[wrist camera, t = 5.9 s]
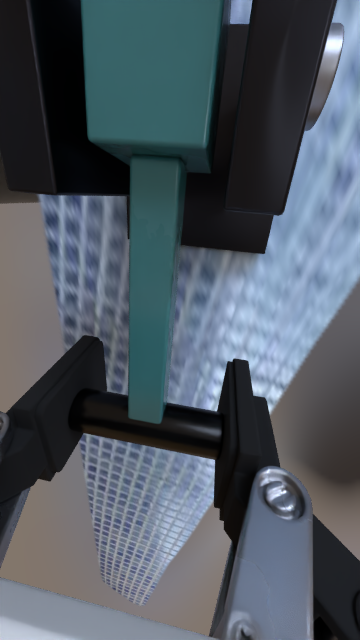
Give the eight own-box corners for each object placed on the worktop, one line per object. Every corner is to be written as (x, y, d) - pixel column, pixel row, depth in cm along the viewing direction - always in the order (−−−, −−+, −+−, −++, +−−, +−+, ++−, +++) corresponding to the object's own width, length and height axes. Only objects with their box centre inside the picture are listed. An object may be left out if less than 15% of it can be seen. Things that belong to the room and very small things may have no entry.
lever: (218, 424, 9) (217, 486, 7) (96, 401, 10) (60, 452, 8) (297, 26, 5) (355, -124, 3) (74, 23, 6) (-20, -103, 3)
